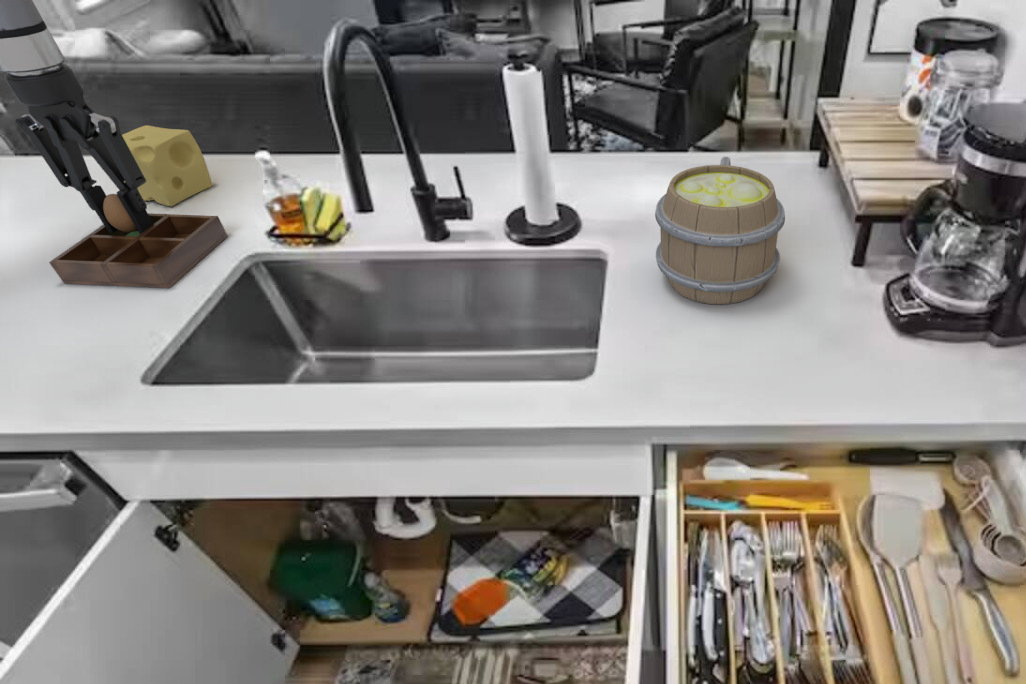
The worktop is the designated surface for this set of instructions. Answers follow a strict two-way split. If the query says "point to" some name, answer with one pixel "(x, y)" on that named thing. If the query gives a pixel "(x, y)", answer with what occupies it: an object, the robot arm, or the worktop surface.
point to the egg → (117, 214)
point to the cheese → (168, 164)
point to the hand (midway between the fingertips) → (132, 229)
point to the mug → (719, 233)
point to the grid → (141, 252)
